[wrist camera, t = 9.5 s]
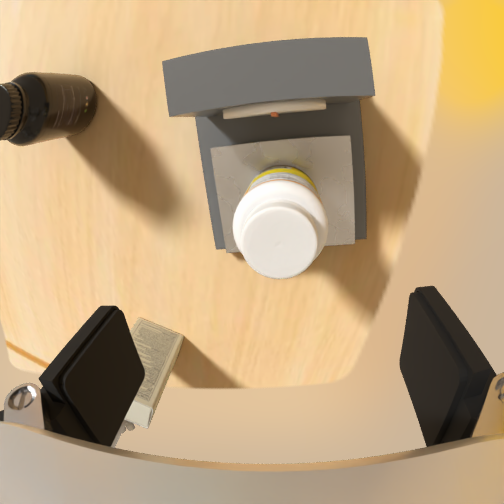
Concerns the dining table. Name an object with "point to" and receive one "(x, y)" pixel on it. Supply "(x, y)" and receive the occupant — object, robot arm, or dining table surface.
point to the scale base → (274, 101)
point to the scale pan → (297, 155)
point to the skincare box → (152, 367)
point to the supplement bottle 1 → (45, 107)
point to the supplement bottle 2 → (280, 222)
